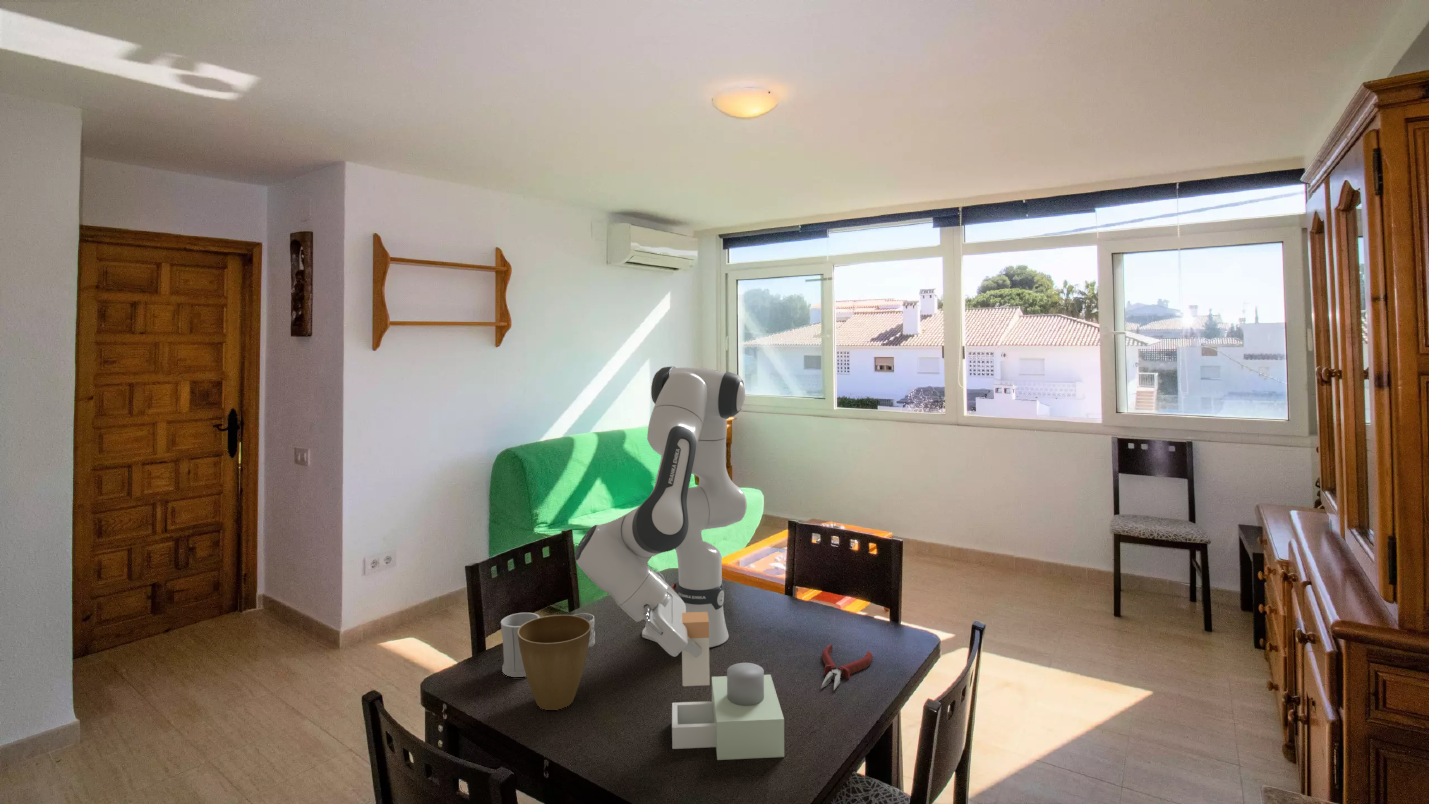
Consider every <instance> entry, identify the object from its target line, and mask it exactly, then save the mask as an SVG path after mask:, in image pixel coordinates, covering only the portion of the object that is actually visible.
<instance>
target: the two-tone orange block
mask: <svg viewBox="0 0 1429 804" xmlns="http://www.w3.org/2000/svg"><path fill="white" fill-rule="evenodd" d="M682 623H683V624H684V625H685V626H686V627H687V636H688V637H689V638H690V640H692V641H693V642H694V643H697V644H698V645H699V646H700V647H701V648H702V653H701V654H700V655H699V656H698V657H697V658H695V657H694V656H693V655H692V654H690V653H689V652H687V651H685V650H682V651H681V665H682V666H681V667H682V669H681V671H682V672H681V673H682V675H681V677H682V679H681V680H682V687H693V686H695V687H697V686H710V685H711V684H710V681H711V679H710V647H709V619H708V612H688V613H682Z"/></svg>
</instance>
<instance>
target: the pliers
mask: <svg viewBox="0 0 1429 804" xmlns="http://www.w3.org/2000/svg"><path fill="white" fill-rule="evenodd" d="M831 652H832V653H833V645H832V644H827V646H826V647H825V648H824V649H823V650H822V653H821V658H822V662H823V664H824V665H825V666H824V669H823V673H824V676H825V678H824V680H823V682H822V684H821V686H820V689H821V690H822V689H823V688H824V687H827V686H828V685H830V684H831V683H832V680H834V683H833V691H835V690H836V689H837V687H838V686H839V685H840V684H841V679H843V677H845V678H844V679H846V678H847V679H846V680H850V679H851V675H853V674H855V672H856V673H858V672H860V670H861V671H863V670H865V669H867V668H869V667H870V666H869V665H871V663H872V660H873V653H872V652H871V651H866V654H865V655H864V656H863V657H862V658H860V659H858V660H854V661H852V662H849V663H847V664H843V665H840V666H839V667H837V666H836V664H835V663H834V661H833V659H832V657H831V654H832V653H831ZM868 666H869V667H868ZM862 669H863V670H862ZM857 671H858V672H857ZM850 674H851V675H850ZM840 678H841V679H840ZM849 678H850V679H849ZM831 679H832V680H831ZM830 682H831V683H830ZM829 683H830V684H829Z"/></svg>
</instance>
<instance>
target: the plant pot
mask: <svg viewBox="0 0 1429 804" xmlns="http://www.w3.org/2000/svg"><path fill="white" fill-rule="evenodd" d="M573 615H574V614H571V615H570V614H553V615H547V616H540V618H536V619H533V620H530V621H528V622H526V623H524V624H523V625H521V626H520V627H519V629H518V631H517V634H518V641H519V647H520V653H521V657H522V662H523V666H524V670H525V673H526V677H525V678H526V680H527V682H528V686H529V688H530V691H531V694H532V696H533V699H534V700H535V703H536V705H537V707H538V706H539V707H540V708H539V707H538V708H539V709H541V708H543V709H547V710H554V709H561V708H564V707H566V708H568V707H570V706H571V705H572V704H573V702H574V699H575V697H576V694H577V692H578V688H579V685H580V682H581V680H582V676H583V672H584V668H585V665H586V660H587V657H588V655H587V654H588V650H589V648H588V645H589V639H590V632H591V624H590V622H589V621H588V620H586V619H584V618H582V617H578V616H573ZM571 703H572V704H571ZM570 704H571V705H570ZM569 705H570V706H569ZM567 706H568V707H567ZM543 709H542V710H543ZM564 709H565V708H564ZM561 710H562V709H561Z"/></svg>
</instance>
